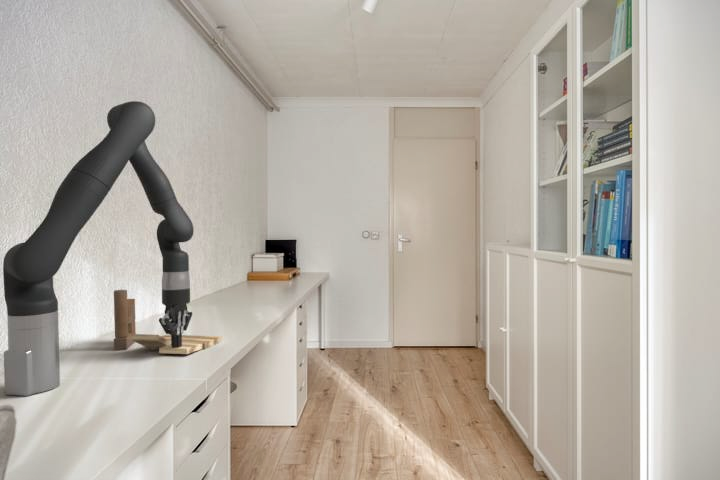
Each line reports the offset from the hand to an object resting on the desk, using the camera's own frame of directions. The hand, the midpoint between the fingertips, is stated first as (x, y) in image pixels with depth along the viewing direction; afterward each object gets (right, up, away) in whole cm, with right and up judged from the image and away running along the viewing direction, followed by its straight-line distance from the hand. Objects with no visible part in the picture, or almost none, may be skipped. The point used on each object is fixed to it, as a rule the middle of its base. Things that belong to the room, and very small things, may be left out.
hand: (176, 347), depth 127 cm
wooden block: (-21, -3, +12) cm, 24 cm away
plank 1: (-9, 0, +4) cm, 10 cm away
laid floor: (-3, -2, +12) cm, 13 cm away
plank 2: (0, -2, +2) cm, 3 cm away
